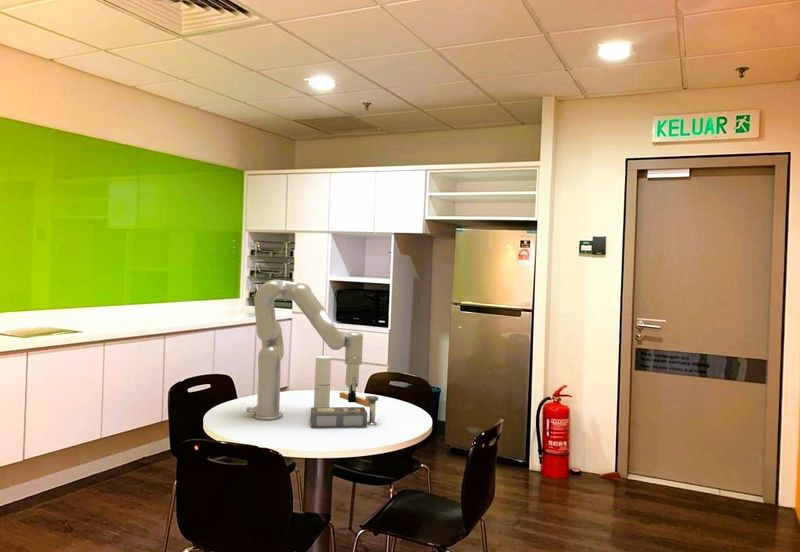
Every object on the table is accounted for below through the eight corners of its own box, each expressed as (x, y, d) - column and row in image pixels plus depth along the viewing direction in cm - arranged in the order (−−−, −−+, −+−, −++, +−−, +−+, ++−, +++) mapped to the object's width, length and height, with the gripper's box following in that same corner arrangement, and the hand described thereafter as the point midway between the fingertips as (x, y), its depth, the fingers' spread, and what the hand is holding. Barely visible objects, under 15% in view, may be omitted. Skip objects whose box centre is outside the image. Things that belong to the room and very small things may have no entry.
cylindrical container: (326, 413, 275) (328, 358, 274) (311, 412, 276) (313, 357, 276) (331, 410, 282) (333, 356, 281) (316, 408, 283) (318, 355, 283)
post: (368, 425, 257) (368, 401, 257) (366, 422, 261) (367, 399, 261) (377, 425, 258) (378, 401, 258) (375, 422, 262) (376, 399, 262)
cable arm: (337, 397, 276) (337, 387, 276) (345, 396, 279) (345, 386, 279) (371, 409, 256) (372, 398, 256) (379, 408, 259) (380, 397, 259)
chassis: (311, 428, 249) (312, 413, 248) (310, 421, 260) (310, 406, 260) (366, 427, 253) (367, 412, 253) (363, 420, 264) (363, 406, 264)
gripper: (343, 357, 273) (341, 398, 273) (346, 363, 258) (344, 405, 258) (359, 358, 274) (358, 398, 274) (364, 363, 259) (362, 405, 260)
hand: (351, 401), depth 266 cm, fingers closed
